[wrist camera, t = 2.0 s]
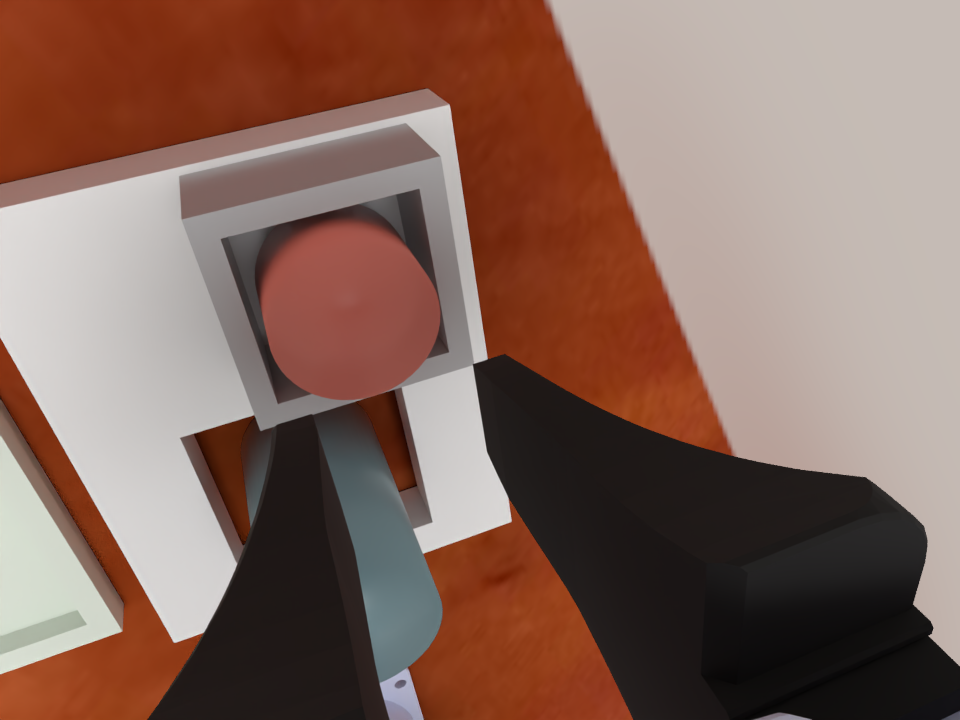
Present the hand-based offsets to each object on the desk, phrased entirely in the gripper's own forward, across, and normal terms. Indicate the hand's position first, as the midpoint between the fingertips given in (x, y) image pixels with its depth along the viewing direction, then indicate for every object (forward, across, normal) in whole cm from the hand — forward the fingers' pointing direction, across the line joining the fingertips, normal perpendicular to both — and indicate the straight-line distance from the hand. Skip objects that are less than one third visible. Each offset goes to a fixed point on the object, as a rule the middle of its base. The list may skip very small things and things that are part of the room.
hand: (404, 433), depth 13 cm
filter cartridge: (+10, +2, +8) cm, 13 cm away
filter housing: (+10, +2, +4) cm, 12 cm away
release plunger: (+7, 0, 0) cm, 7 cm away
